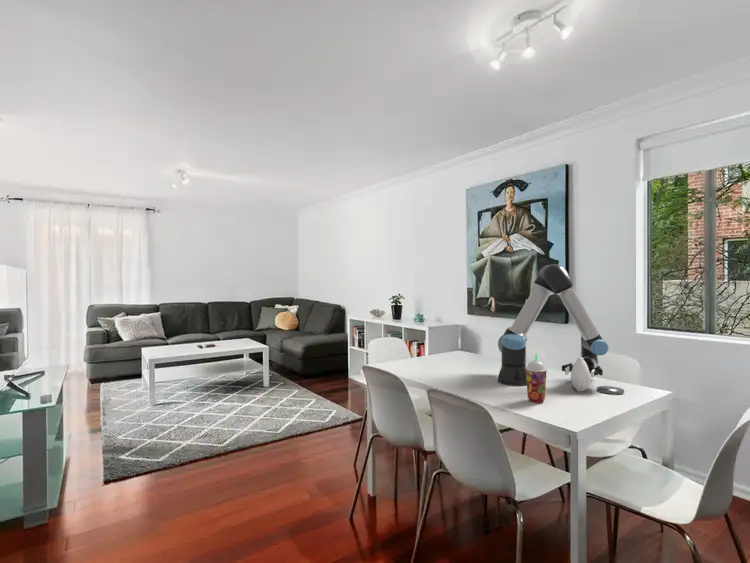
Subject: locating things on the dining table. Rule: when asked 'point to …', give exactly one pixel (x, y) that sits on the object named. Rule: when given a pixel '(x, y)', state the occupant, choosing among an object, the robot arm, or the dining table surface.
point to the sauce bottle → (580, 375)
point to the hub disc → (610, 390)
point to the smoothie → (536, 381)
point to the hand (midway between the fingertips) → (578, 373)
